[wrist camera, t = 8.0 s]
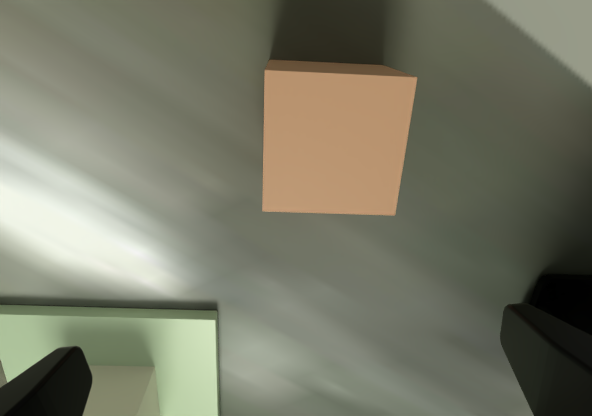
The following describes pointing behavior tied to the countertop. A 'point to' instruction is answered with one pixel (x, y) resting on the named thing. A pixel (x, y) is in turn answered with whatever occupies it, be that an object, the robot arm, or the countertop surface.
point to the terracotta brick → (334, 136)
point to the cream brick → (122, 391)
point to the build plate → (124, 347)
